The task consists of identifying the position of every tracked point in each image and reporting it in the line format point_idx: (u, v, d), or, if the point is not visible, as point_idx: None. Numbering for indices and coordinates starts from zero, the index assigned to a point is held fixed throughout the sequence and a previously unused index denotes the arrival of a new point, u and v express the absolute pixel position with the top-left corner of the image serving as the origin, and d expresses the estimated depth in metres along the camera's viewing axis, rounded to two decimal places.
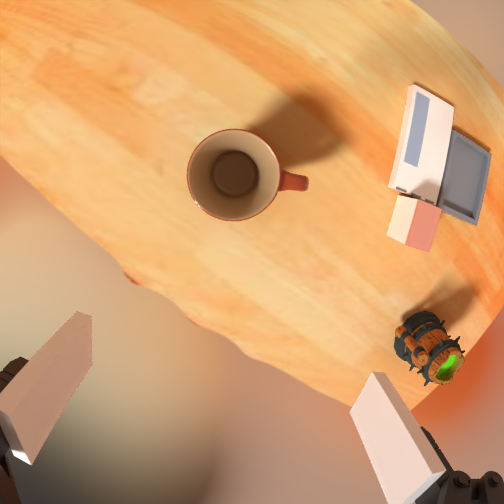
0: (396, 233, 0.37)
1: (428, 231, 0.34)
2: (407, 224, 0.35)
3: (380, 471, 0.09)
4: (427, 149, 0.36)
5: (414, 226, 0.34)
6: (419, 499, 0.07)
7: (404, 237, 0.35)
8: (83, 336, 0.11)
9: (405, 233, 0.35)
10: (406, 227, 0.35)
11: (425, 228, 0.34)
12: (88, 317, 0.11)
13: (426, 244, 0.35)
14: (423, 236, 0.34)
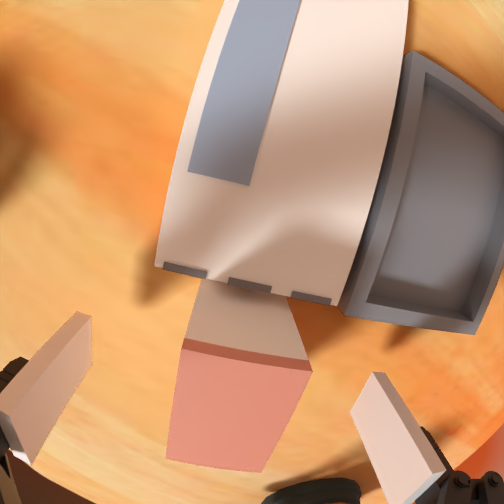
0: None
1: (246, 435, 0.09)
2: None
3: (380, 471, 0.09)
4: (299, 114, 0.11)
5: (177, 424, 0.09)
6: (419, 499, 0.07)
7: None
8: (83, 336, 0.11)
9: None
10: None
11: (230, 429, 0.09)
12: (88, 317, 0.11)
13: (244, 460, 0.10)
14: (225, 446, 0.10)
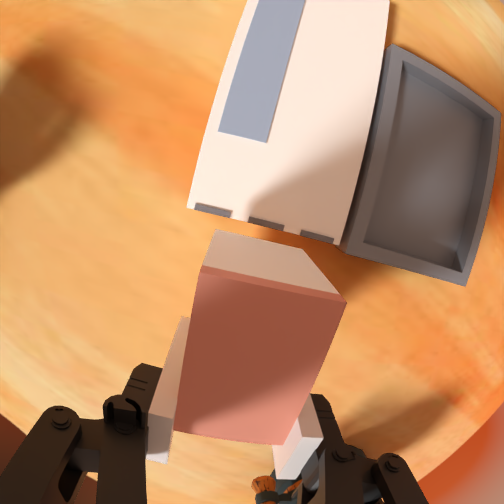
0: None
1: (269, 393, 0.09)
2: None
3: None
4: (303, 91, 0.13)
5: (189, 379, 0.08)
6: (303, 469, 0.08)
7: None
8: None
9: None
10: None
11: (251, 385, 0.08)
12: None
13: (265, 428, 0.09)
14: (245, 409, 0.09)
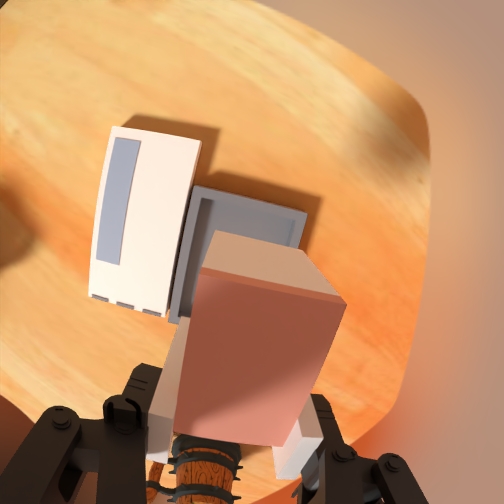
0: None
1: (269, 395, 0.09)
2: None
3: None
4: (135, 233, 0.25)
5: (189, 381, 0.08)
6: (303, 469, 0.08)
7: None
8: None
9: None
10: None
11: (250, 386, 0.08)
12: None
13: (265, 430, 0.09)
14: (244, 410, 0.09)
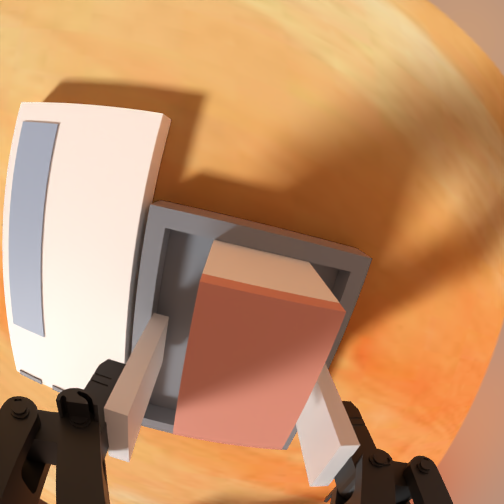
0: None
1: (268, 399, 0.09)
2: None
3: (303, 443, 0.10)
4: (59, 290, 0.12)
5: (189, 385, 0.08)
6: (338, 476, 0.08)
7: None
8: (163, 335, 0.13)
9: None
10: None
11: (250, 391, 0.08)
12: (166, 317, 0.13)
13: (264, 433, 0.09)
14: (244, 414, 0.09)
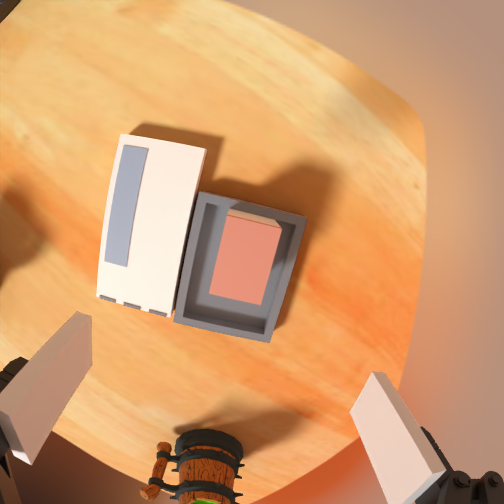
0: None
1: (253, 270, 0.22)
2: None
3: (380, 471, 0.09)
4: (142, 237, 0.26)
5: (219, 262, 0.22)
6: (419, 499, 0.07)
7: None
8: (83, 336, 0.11)
9: None
10: None
11: (245, 265, 0.22)
12: (88, 317, 0.11)
13: (251, 292, 0.23)
14: (242, 278, 0.22)
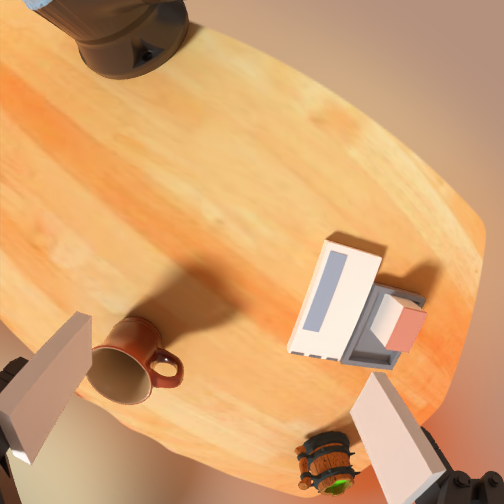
0: (379, 332, 0.38)
1: (410, 335, 0.35)
2: (390, 328, 0.36)
3: (380, 471, 0.09)
4: (334, 312, 0.39)
5: (396, 332, 0.35)
6: (419, 499, 0.07)
7: (385, 340, 0.36)
8: (83, 336, 0.11)
9: (387, 336, 0.36)
10: (388, 331, 0.36)
11: (407, 333, 0.35)
12: (88, 317, 0.11)
13: (406, 346, 0.35)
14: (404, 340, 0.35)
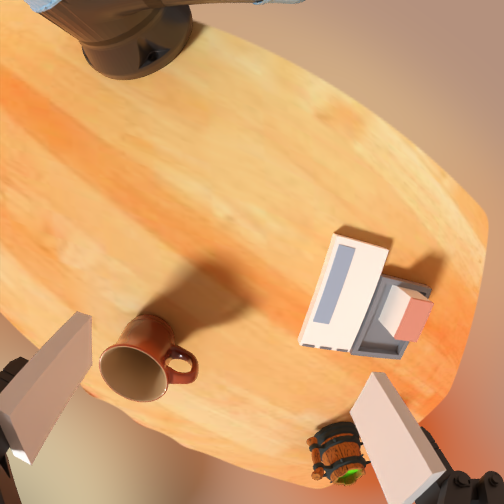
0: (387, 322, 0.39)
1: (417, 325, 0.36)
2: (398, 319, 0.37)
3: (380, 471, 0.09)
4: (344, 304, 0.39)
5: (404, 322, 0.35)
6: (419, 499, 0.07)
7: (394, 330, 0.37)
8: (83, 336, 0.11)
9: (395, 326, 0.37)
10: (397, 321, 0.37)
11: (415, 322, 0.35)
12: (88, 317, 0.11)
13: (414, 336, 0.36)
14: (412, 329, 0.36)
